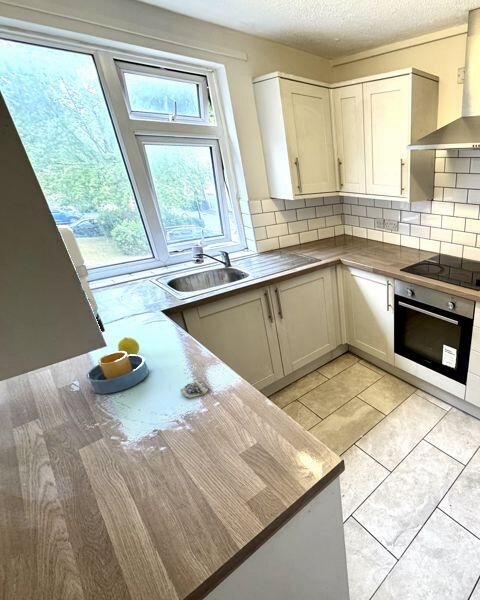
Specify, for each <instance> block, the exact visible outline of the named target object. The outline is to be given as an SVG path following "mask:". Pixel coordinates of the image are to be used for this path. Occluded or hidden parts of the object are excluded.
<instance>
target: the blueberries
mask: <svg viewBox="0 0 480 600" xmlns="http://www.w3.org/2000/svg"><path fill="white" fill-rule="evenodd" d="M204 386H205V385H204V382H203V383H202V382H201V381H195V382H191V383H187V384H186V385H184V387H183V388H181V389H180V390H179V391H180V393H181V394H183V396H185V397H187V398H189V399H191V398H195V397H200V396H203V395H205V394H207V393H208V391H209V389H208V388H207V387H206V386H205V387H204Z"/></svg>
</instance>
